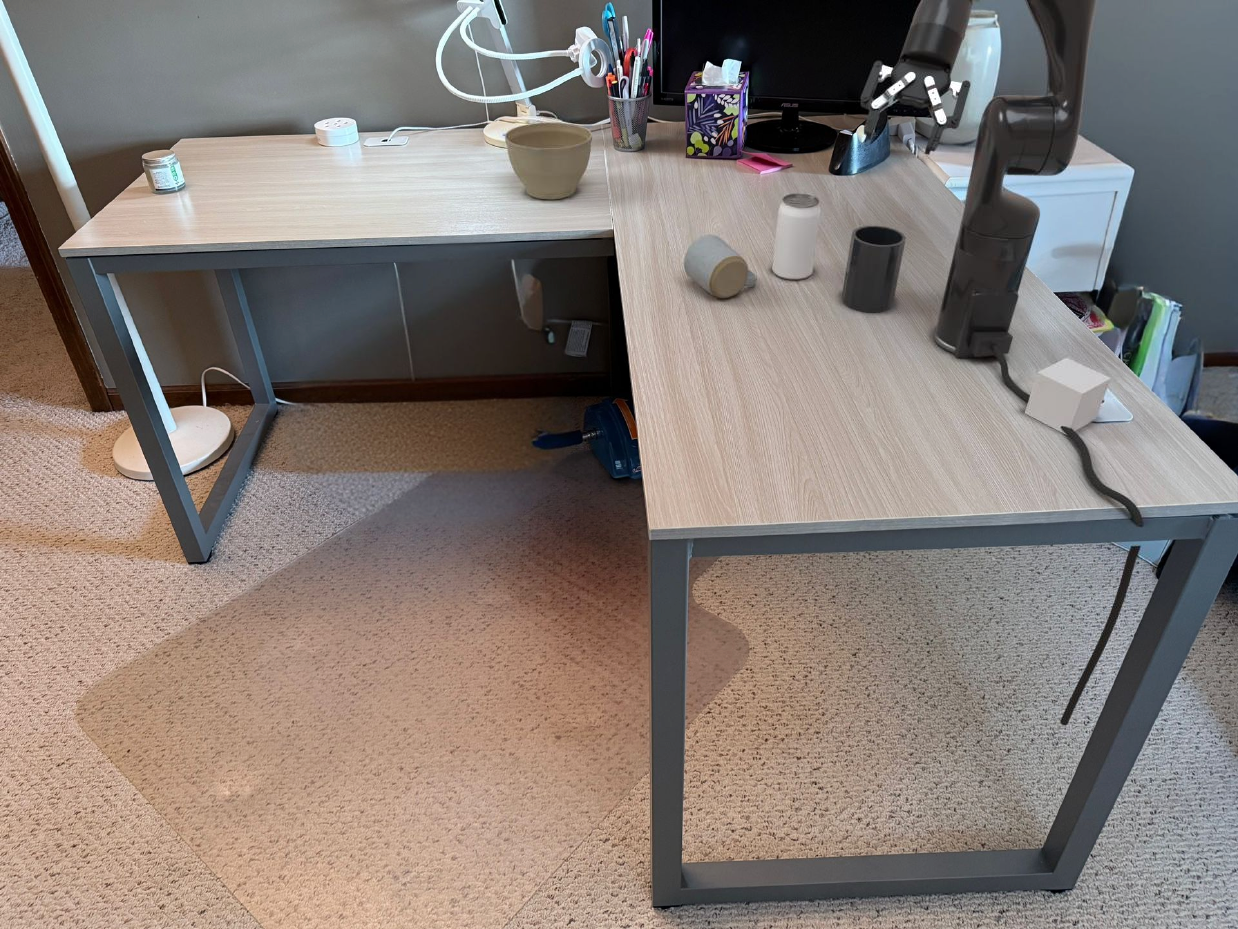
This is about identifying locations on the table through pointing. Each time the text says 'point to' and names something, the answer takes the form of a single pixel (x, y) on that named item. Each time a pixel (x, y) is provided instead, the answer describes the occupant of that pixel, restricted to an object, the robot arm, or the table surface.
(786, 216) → the can
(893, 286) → the pen cup
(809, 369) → the table surface
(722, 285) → the ceramic mug
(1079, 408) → the white cube
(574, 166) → the planter bowl
